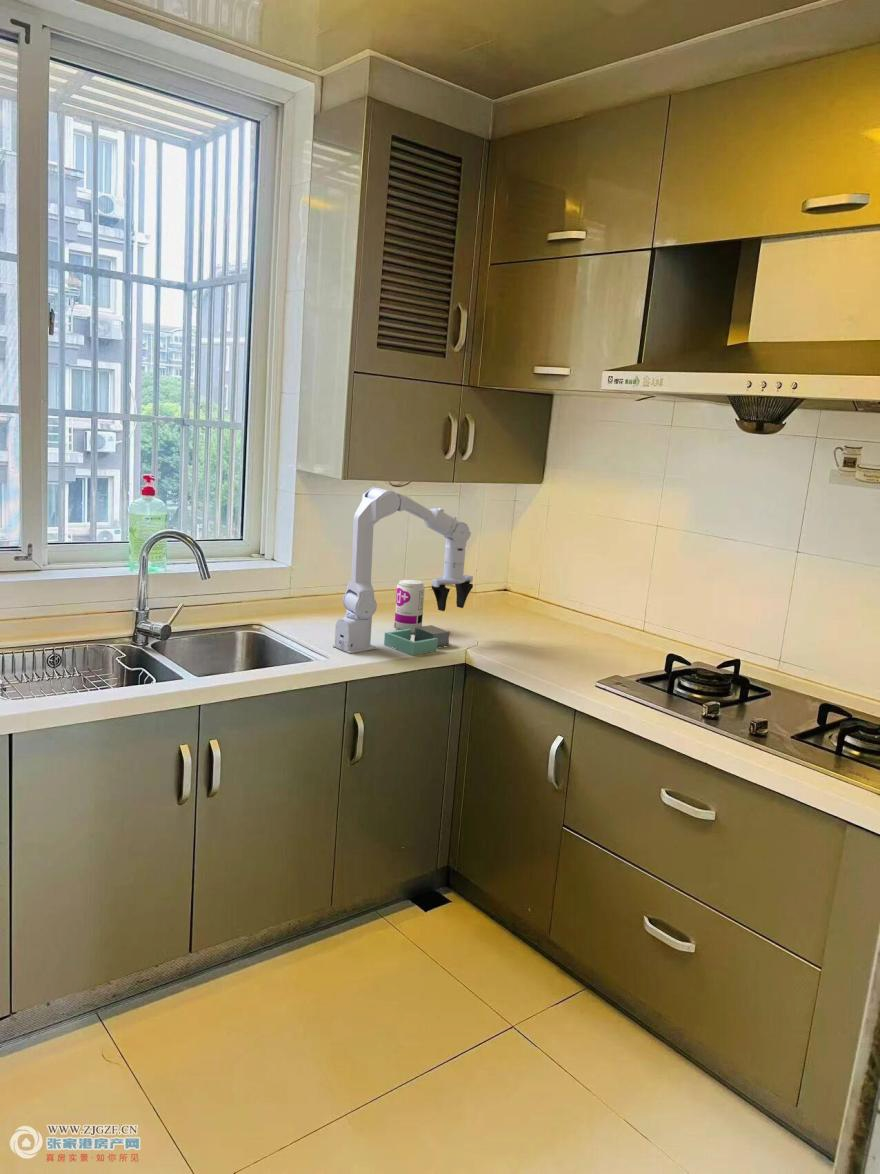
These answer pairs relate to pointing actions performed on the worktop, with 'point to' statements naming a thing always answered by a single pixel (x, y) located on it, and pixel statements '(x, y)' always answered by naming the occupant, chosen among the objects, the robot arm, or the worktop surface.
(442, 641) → the block
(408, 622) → the supplement can
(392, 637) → the dock
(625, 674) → the worktop surface
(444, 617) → the worktop surface
